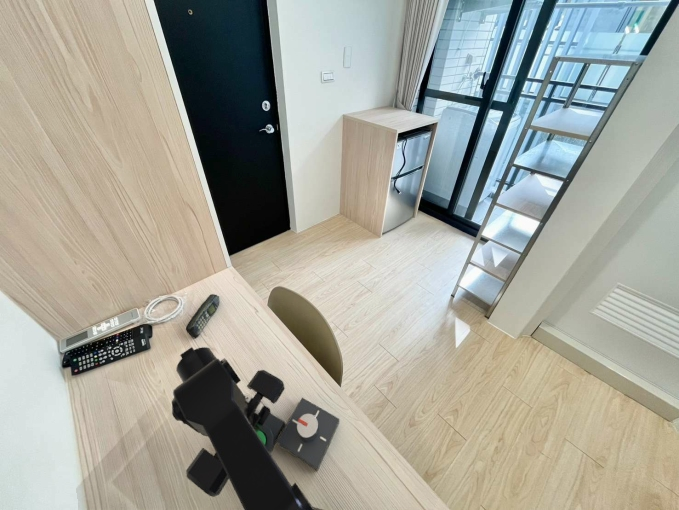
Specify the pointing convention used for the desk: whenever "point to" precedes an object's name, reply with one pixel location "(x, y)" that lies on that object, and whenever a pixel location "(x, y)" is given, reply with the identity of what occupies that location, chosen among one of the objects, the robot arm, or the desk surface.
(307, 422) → the program dial
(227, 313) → the desk surface
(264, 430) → the button block
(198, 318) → the mobile phone
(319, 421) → the dial panel
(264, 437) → the button
